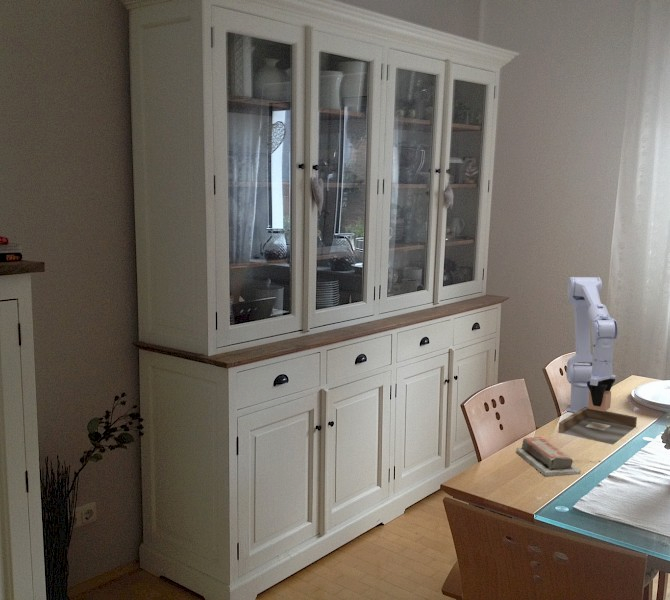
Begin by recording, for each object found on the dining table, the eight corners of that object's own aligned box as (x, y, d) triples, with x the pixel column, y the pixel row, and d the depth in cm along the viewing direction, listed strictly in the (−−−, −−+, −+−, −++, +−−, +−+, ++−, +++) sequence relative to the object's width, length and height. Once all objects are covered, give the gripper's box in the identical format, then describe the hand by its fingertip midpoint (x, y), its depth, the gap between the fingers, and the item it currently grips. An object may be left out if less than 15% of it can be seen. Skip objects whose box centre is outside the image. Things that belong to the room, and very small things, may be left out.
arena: (584, 419, 232) (584, 406, 231) (636, 429, 222) (636, 417, 221) (558, 435, 217) (559, 422, 216) (612, 447, 206) (613, 434, 206)
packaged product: (515, 436, 203) (548, 434, 205) (514, 453, 204) (548, 450, 206) (545, 460, 186) (582, 457, 187) (545, 478, 186) (581, 475, 188)
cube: (593, 404, 224) (594, 388, 223) (610, 407, 221) (611, 391, 220) (588, 408, 220) (589, 392, 219) (605, 411, 217) (605, 395, 216)
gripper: (608, 366, 210) (605, 411, 212) (623, 356, 221) (620, 400, 223) (584, 362, 214) (581, 407, 216) (600, 353, 225) (597, 396, 228)
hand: (599, 403), depth 220 cm, fingers closed on cube, 5 cm apart
